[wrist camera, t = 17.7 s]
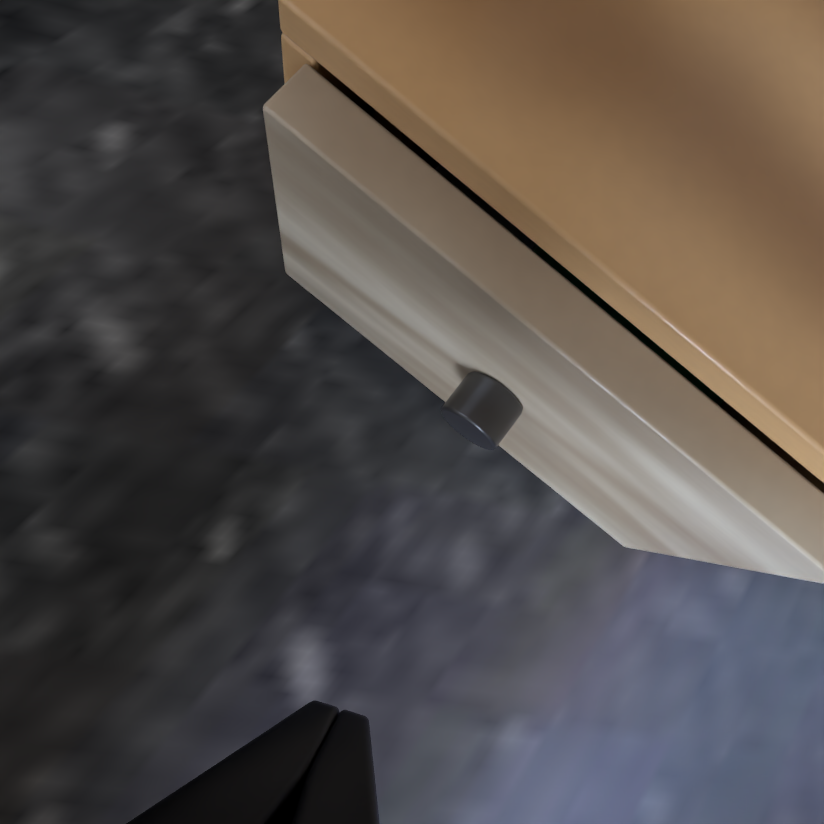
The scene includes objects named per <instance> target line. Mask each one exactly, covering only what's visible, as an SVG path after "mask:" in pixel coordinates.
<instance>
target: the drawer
mask: <svg viewBox="0 0 824 824" xmlns="http://www.w3.org/2000/svg"><path fill="white" fill-rule="evenodd" d="M263 113H264V121H265V128H266V135H267V142H268V149H269V157H270V164H271V171H272V178H273V186H274V193H275V200H276V207H277V215H278V222H279V229H280V236H281V243H282V251H283V258H284V265H285V272H286V273H287V274H288V275H289V276H290V277H291V278H293V279H294V280H295V281H296V282H298V283H299V284H300V285H301V286H303V287H304V288H305V289H306V290H308V291H309V292H310V293H311V294H312V295H314V296H315V297H316V298H317V299H319V300H320V301H321V302H322V303H324V304H325V305H326V306H327V307H329V308H330V309H331V310H332V311H333V312H335V313H336V314H337V315H338V316H340V317H341V318H342V319H343V320H345V321H346V322H347V323H348V324H350V325H351V326H352V327H353V328H354V329H356V330H357V331H358V332H359V333H361V334H362V335H363V336H364V337H366V338H367V339H368V340H369V341H371V342H372V343H373V344H374V345H375V346H377V347H378V348H379V349H380V350H382V351H383V352H384V353H385V354H387V355H388V356H389V357H390V358H392V359H393V360H394V361H395V362H396V363H398V364H399V365H400V366H401V367H403V368H404V369H405V370H406V371H408V372H409V373H410V374H411V375H413V376H414V377H415V378H416V379H417V380H419V381H420V382H421V383H422V384H424V385H425V386H426V387H427V388H429V389H430V390H431V391H432V392H434V393H435V394H436V395H437V396H438V397H440V398H441V399H442V400H443V401H445V403H444V405H443V406H442V408H441V413H442V415H443V417H444V418H445V420H446V421H447V422H448V423H449V424H450V425H451V426H452V427H453V428H454V429H455V430H456V431H457V432H458V433H460V434H461V435H462V436H463V437H465V438H466V439H468V440H469V441H471V442H472V443H474V444H476V445H478V446H480V447H482V448H485V449H488V450H494V449H495V448H496V447H497V446H498V445H499V446H500V447H501V448H503V449H504V450H505V451H506V452H508V453H509V454H510V455H511V456H513V457H514V458H515V459H516V460H517V461H519V462H520V463H521V464H522V465H524V466H525V467H526V468H527V469H529V470H530V471H531V472H532V473H534V474H535V475H536V476H537V477H538V478H540V479H541V480H542V481H543V482H545V483H546V484H547V485H548V486H550V487H551V488H552V489H553V490H555V491H556V492H557V493H558V494H559V495H561V496H562V497H563V498H564V499H566V500H567V501H568V502H569V503H571V504H572V505H573V506H574V507H576V508H577V509H578V510H579V511H580V512H582V513H583V514H584V515H585V516H587V517H588V518H589V519H590V520H592V521H593V522H594V523H595V524H597V525H598V526H599V527H600V528H601V529H603V530H604V531H605V532H606V533H608V534H609V535H610V536H611V537H613V538H614V539H615V540H616V541H618V542H619V543H620V544H621V545H622V546H624V547H627V548H633V549H638V550H644V551H649V552H654V553H660V554H665V555H671V556H676V557H681V558H687V559H692V560H698V561H703V562H708V563H714V564H719V565H725V566H730V567H735V568H741V569H746V570H752V571H757V572H762V573H768V574H773V575H779V576H784V577H790V578H795V579H800V580H806V581H811V582H817V583H822V584H824V493H823V492H822V491H821V490H820V489H818V488H817V487H816V486H815V485H814V484H812V483H811V482H810V481H809V480H808V479H806V478H805V477H804V476H803V475H802V474H800V473H799V472H798V471H797V470H796V469H794V468H793V467H792V466H791V465H790V464H788V463H787V462H786V461H794V460H795V459H794V458H793V457H791V456H790V455H789V454H788V453H787V452H785V451H784V450H783V449H782V448H781V447H779V446H778V445H777V444H776V443H775V442H773V441H772V440H771V439H770V438H769V437H767V436H766V435H765V434H764V433H763V432H761V431H760V430H759V429H758V428H757V427H755V426H754V425H753V424H752V423H751V422H749V421H748V420H747V419H746V418H745V417H743V416H742V415H741V414H740V413H739V412H737V411H736V410H735V409H734V408H733V407H731V406H730V405H729V404H728V403H727V402H725V401H723V402H722V404H721V405H720V406H719V405H717V404H716V403H715V402H714V401H713V400H711V399H710V398H709V397H708V396H707V395H705V394H704V393H703V392H702V391H701V390H699V389H698V388H697V387H696V386H695V385H693V384H692V383H691V382H690V381H689V380H687V379H686V378H685V377H684V376H683V375H681V374H680V373H679V372H678V371H677V370H675V369H674V368H673V367H672V366H671V365H669V364H668V363H667V362H666V361H665V360H663V359H662V358H661V357H660V356H659V355H657V354H656V353H655V352H654V351H653V350H651V349H650V348H649V347H648V346H646V345H645V344H644V343H643V342H642V341H640V340H639V339H638V338H637V337H636V336H634V335H633V334H632V333H631V332H630V331H628V330H627V329H626V328H625V327H624V326H622V325H621V324H620V323H619V322H618V321H616V320H615V319H614V318H613V317H612V316H610V315H609V314H608V313H607V312H606V311H604V310H603V309H602V308H601V307H600V306H598V305H597V304H596V303H595V302H594V301H592V300H591V299H590V298H589V297H588V296H586V295H585V294H584V293H583V292H582V291H580V290H579V289H578V288H577V287H576V286H574V285H573V284H572V283H571V282H570V281H568V280H567V279H566V278H565V277H564V276H562V275H561V274H560V273H559V272H558V271H556V270H555V269H554V268H553V267H552V266H550V265H549V264H548V263H547V262H546V261H544V260H543V259H542V258H541V257H539V256H538V255H537V254H536V253H535V252H533V251H532V250H531V249H530V248H529V247H527V246H526V245H525V244H524V243H523V242H521V241H520V240H519V239H518V238H517V237H515V236H514V235H513V234H512V233H511V232H509V231H508V230H507V229H506V228H505V227H503V226H502V225H501V224H500V223H499V222H497V221H496V220H495V219H494V218H493V217H491V216H490V215H489V214H488V213H487V212H485V211H484V210H483V209H482V208H481V207H479V206H478V205H477V204H476V203H475V202H473V201H472V200H471V199H470V198H469V197H467V196H466V195H465V194H464V193H463V192H461V191H460V190H459V189H458V188H457V187H455V186H454V185H453V184H452V183H451V182H449V181H448V180H447V179H446V178H445V177H443V176H442V175H441V174H440V173H439V172H437V171H436V170H435V168H436V167H437V166H438V165H439V164H440V163H438V162H437V161H436V160H435V159H434V158H432V157H431V156H430V155H429V154H428V153H426V152H425V151H424V150H423V149H422V148H420V147H419V146H418V145H417V144H416V143H414V142H413V141H412V140H411V139H409V138H408V137H407V136H406V135H405V134H403V133H402V132H401V131H400V130H399V129H397V128H396V127H395V126H394V125H393V124H391V123H390V122H389V121H388V120H387V119H385V118H384V117H383V116H382V115H381V114H379V113H378V112H377V111H376V110H375V109H374V114H373V118H372V117H371V116H370V115H369V114H368V113H366V112H365V111H364V110H363V109H362V108H360V107H359V106H358V105H357V104H356V103H354V102H353V101H352V100H351V99H350V98H348V97H347V96H346V95H345V94H344V93H342V92H341V91H340V90H339V89H338V88H336V87H335V86H334V85H333V84H332V83H330V82H329V81H328V80H327V79H325V78H324V77H323V76H322V75H321V74H319V73H318V72H317V71H316V70H315V69H313V68H312V67H311V66H310V65H308V64H304V65H303V66H302V67H301V68H300V69H299V70H298V71H297V72H296V73H295V74H294V75H293V76H292V77H291V78H290V79H289V80H288V81H287V82H286V83H285V84H284V85H283V86H282V87H281V88H280V89H279V90H278V91H277V92H276V93H275V94H274V95H273V96H272V97H271V98H270V99H269V100H268V101H267V102H266V103H265V104H264V107H263Z"/></svg>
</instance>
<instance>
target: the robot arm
mask: <svg viewBox="0 0 824 824" xmlns="http://www.w3.org/2000/svg"><path fill="white" fill-rule="evenodd" d="M127 824H380V823H379V814H378V804H377V794H376V785H375V775H374V766H373V756H372V746H371V737H370V727H369V720H368V718H367V717H365V716H363V715H360V714H357V713H354V712H351V711H348V710H343V711H341V712H340V713H339V709H338V708H337V707H335V706H332V705H328V704H325V703H322V702H319V701H312V702H310V703H308V704H307V705H305V706H304V707H302V708H301V709H299V710H298V711H296V712H294V713H293V714H291V715H290V716H288V717H287V718H285V719H284V720H282V721H281V722H279V723H278V724H276V725H275V726H273V727H272V728H270V729H269V730H267V731H266V732H264V733H263V734H261V735H260V736H258V737H257V738H255V739H254V740H252V741H251V742H249V743H248V744H246V745H245V746H243V747H242V748H240V749H239V750H237V751H235V752H234V753H232V754H231V755H229V756H228V757H226V758H225V759H223V760H222V761H220V762H219V763H217V764H216V765H214V766H213V767H211V768H210V769H208V770H207V771H205V772H204V773H202V774H201V775H199V776H198V777H196V778H195V779H193V780H192V781H190V782H189V783H187V784H186V785H184V786H183V787H181V788H180V789H178V790H176V791H175V792H173V793H172V794H170V795H169V796H167V797H166V798H164V799H163V800H161V801H160V802H158V803H157V804H155V805H154V806H152V807H151V808H149V809H148V810H146V811H145V812H143V813H142V814H140V815H139V816H137V817H136V818H134V819H133V820H131V821H130V822H128V823H127Z"/></svg>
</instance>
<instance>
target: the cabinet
mask: <svg viewBox="0 0 824 824" xmlns="http://www.w3.org/2000/svg"><path fill="white" fill-rule="evenodd" d="M278 3H279V16H280V28H281V30H282V32H283V33H282V36H281V43H282V56H283V69H284V82H285V83H286V82H287V81H288V80H289V79H290V78H291V77H292V76H293V75H294V74H295V73H296V72H297V71H298V70H299V69H300V68H301V67H302V66H303V65H304V64H308V65H310V66H311V67H312V68H313V69H315V70H316V71H317V72H318V73H319V74H321V75H322V76H323V77H324V78H325V79H327V80H328V81H329V82H330V83H332V84H333V85H334V86H335V87H336V88H338V89H339V90H340V91H341V92H342V93H344V94H345V95H346V96H347V97H348V98H350V99H351V100H352V101H353V102H354V103H356V104H357V105H358V106H359V107H360V108H362V109H363V110H364V111H365V112H366V113H368V114H369V115H370V116H371V117H372V118H373V114H374V109H375V110H376V111H377V112H378V113H379V114H381V115H382V116H383V117H384V118H385V119H387V120H388V121H389V122H390V123H391V124H393V125H394V126H395V127H396V128H397V129H399V130H400V131H401V132H402V133H403V134H405V135H406V136H407V137H408V138H409V139H411V140H412V141H413V142H414V143H416V144H417V145H418V146H419V147H420V148H422V149H423V150H424V151H425V152H426V153H428V154H429V155H430V156H431V157H432V158H434V159H435V160H436V161H437V162H438V163H440V164H441V165H442V166H443V167H444V168H446V169H447V170H448V171H449V172H450V173H452V174H453V175H454V176H455V177H456V178H458V179H459V180H460V181H461V182H462V183H464V184H465V185H466V186H467V187H468V188H470V189H471V190H472V191H473V192H474V193H476V194H477V195H478V196H479V197H480V198H482V199H483V200H484V201H485V202H486V203H488V204H489V205H490V206H491V207H492V208H494V209H495V210H496V211H497V212H498V213H500V214H501V215H502V216H503V217H504V218H506V219H507V220H508V221H509V222H510V223H512V224H513V225H514V226H515V227H516V228H518V229H519V230H520V231H521V232H522V233H524V234H525V235H526V236H527V237H528V238H530V239H531V240H532V241H533V242H534V243H536V244H537V245H538V246H539V247H540V248H542V249H543V250H544V251H545V252H546V253H548V254H549V255H550V256H551V257H552V258H554V259H555V260H556V261H557V262H558V263H560V264H561V265H562V266H563V267H564V268H566V269H567V270H568V271H569V272H570V273H572V274H573V275H574V276H575V277H576V278H578V279H579V280H580V281H581V282H582V283H584V284H585V285H586V286H587V287H588V288H590V289H591V290H592V291H593V292H594V293H596V294H597V295H598V296H599V297H600V298H602V299H603V300H604V301H605V302H606V303H608V304H609V305H610V306H611V307H612V308H614V309H615V310H616V311H617V312H618V313H620V314H621V315H622V316H623V317H624V318H626V319H627V320H628V321H629V322H630V323H632V324H633V325H634V326H635V327H636V328H638V329H639V330H640V331H641V332H642V333H644V334H645V335H646V336H647V337H648V338H650V339H651V340H652V341H653V342H654V343H656V344H657V345H658V346H659V347H660V348H662V349H663V350H664V351H665V352H666V353H668V354H669V355H670V356H671V357H672V358H674V359H675V360H676V361H677V362H678V363H680V364H681V365H682V366H683V367H684V368H686V369H687V370H688V371H689V372H690V373H692V374H693V375H694V376H695V377H697V378H698V379H699V380H700V381H701V382H703V383H704V384H705V385H706V386H707V387H709V388H710V389H711V390H712V391H713V392H715V393H716V394H717V395H718V396H719V397H721V398H722V399H723V400H724V401H725V402H727V403H728V404H729V405H730V406H731V407H733V408H734V409H735V410H736V411H737V412H739V413H740V414H741V415H742V416H743V417H745V418H746V419H747V420H748V421H749V422H751V423H752V424H753V425H754V426H755V427H757V428H758V429H759V430H760V431H761V432H763V433H764V434H765V435H766V436H767V437H769V438H770V439H771V440H772V441H773V442H775V443H776V444H777V445H778V446H779V447H781V448H782V449H783V450H784V451H785V452H787V453H788V454H789V455H790V456H791V457H793V458H794V459H795V460H794V461H786V462H787V463H788V464H790V465H791V466H792V467H793V468H794V469H796V470H797V471H798V472H799V473H800V474H802V475H803V476H804V477H805V478H806V479H808V480H809V481H810V482H811V483H812V484H814V485H815V486H816V487H817V488H818V489H820V490H821V491H822V492H823V493H824V0H278Z"/></svg>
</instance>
